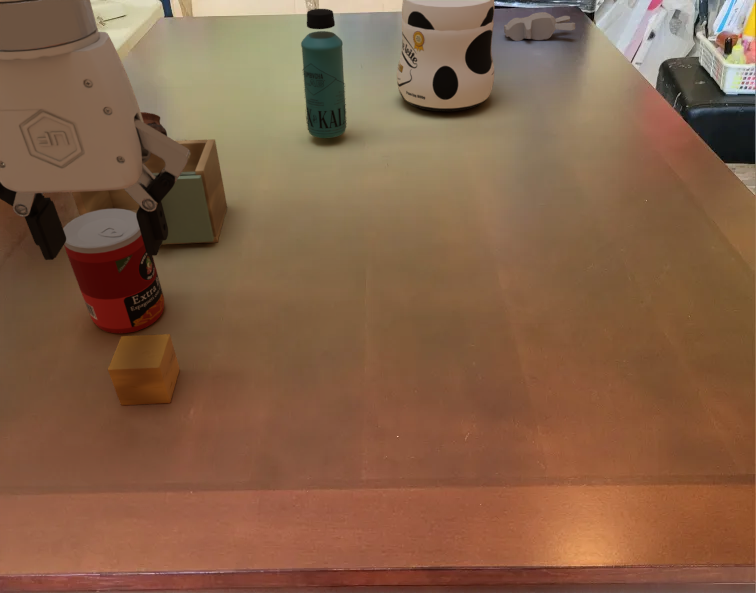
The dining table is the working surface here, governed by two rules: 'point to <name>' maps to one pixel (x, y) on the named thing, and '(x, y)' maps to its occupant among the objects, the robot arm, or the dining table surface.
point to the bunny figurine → (536, 26)
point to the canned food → (114, 270)
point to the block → (144, 369)
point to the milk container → (446, 53)
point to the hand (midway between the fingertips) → (106, 247)
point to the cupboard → (198, 164)
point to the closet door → (187, 212)
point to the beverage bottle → (323, 77)
